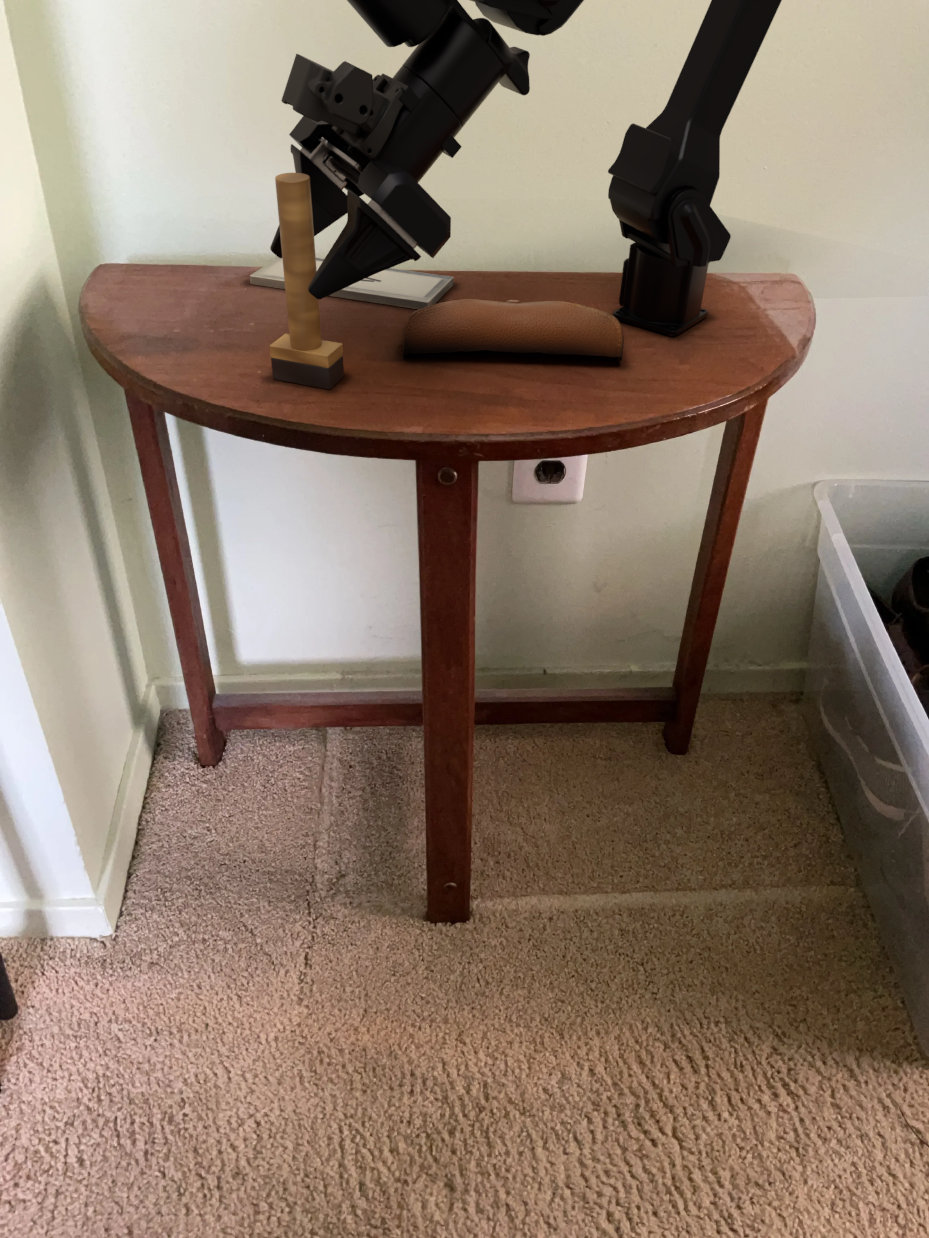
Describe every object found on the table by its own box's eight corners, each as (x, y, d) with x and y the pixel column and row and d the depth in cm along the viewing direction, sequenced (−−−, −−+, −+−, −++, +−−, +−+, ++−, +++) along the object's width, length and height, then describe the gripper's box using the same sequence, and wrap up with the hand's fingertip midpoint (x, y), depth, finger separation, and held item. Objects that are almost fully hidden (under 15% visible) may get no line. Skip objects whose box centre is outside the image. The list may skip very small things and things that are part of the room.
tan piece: (344, 377, 78) (333, 176, 69) (330, 390, 77) (316, 186, 67) (288, 366, 80) (269, 168, 70) (272, 379, 78) (251, 177, 68)
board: (453, 285, 95) (453, 276, 94) (428, 311, 90) (428, 302, 89) (283, 260, 99) (283, 252, 99) (250, 284, 94) (249, 275, 93)
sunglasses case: (612, 322, 87) (624, 271, 81) (614, 391, 84) (627, 343, 78) (408, 317, 87) (404, 265, 81) (404, 385, 84) (400, 337, 78)
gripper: (307, -12, 71) (175, 166, 74) (406, 28, 58) (241, 242, 61) (409, 103, 78) (286, 260, 81) (518, 161, 65) (366, 345, 68)
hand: (293, 273), depth 73 cm, fingers open, 9 cm apart
